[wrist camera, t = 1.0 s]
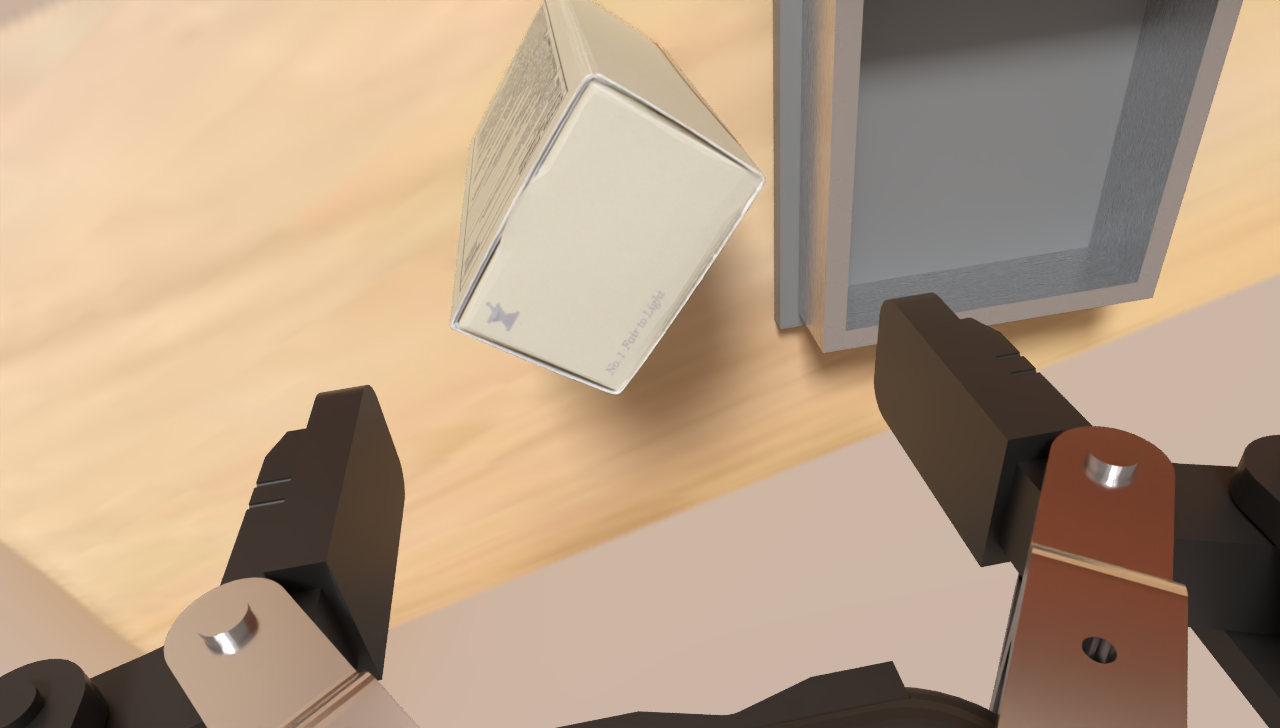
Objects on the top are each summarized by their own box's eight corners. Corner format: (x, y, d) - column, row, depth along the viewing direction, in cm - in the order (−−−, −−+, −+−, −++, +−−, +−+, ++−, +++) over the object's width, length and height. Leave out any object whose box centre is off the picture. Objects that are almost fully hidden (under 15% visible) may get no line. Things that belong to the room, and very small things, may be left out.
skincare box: (577, 204, 29) (619, 410, 19) (461, 144, 27) (439, 336, 17) (673, 43, 26) (780, 182, 16) (551, -35, 24) (588, 68, 14)
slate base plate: (1204, -127, 26) (1222, -126, 25) (1103, 264, 34) (1115, 274, 33) (772, -70, 25) (780, -67, 24) (774, 318, 33) (780, 329, 32)
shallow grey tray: (1194, -97, 25) (1269, -88, 23) (1103, 261, 32) (1152, 297, 30) (802, -44, 24) (837, -28, 22) (797, 311, 32) (823, 353, 29)
